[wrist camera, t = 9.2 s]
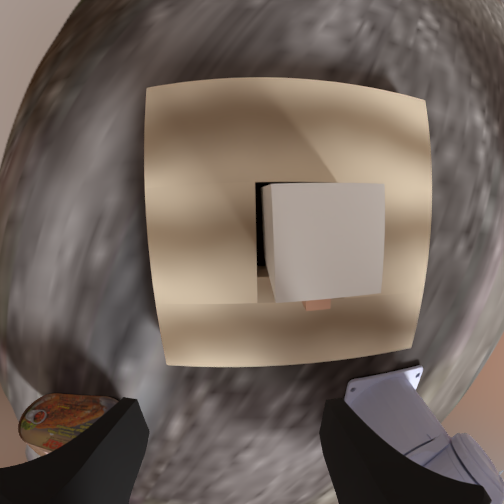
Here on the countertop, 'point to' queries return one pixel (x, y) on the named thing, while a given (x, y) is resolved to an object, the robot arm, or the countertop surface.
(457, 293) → the countertop surface
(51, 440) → the tin
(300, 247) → the keyed peg
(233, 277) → the socket plate
